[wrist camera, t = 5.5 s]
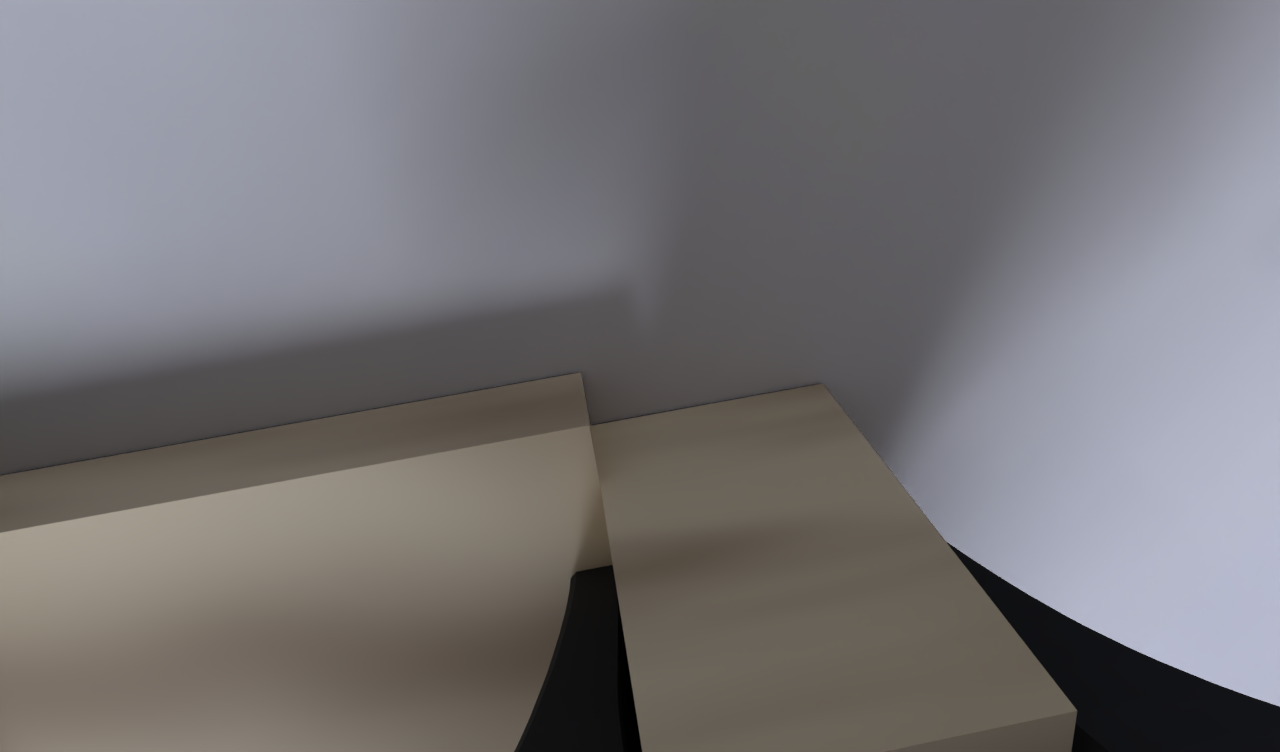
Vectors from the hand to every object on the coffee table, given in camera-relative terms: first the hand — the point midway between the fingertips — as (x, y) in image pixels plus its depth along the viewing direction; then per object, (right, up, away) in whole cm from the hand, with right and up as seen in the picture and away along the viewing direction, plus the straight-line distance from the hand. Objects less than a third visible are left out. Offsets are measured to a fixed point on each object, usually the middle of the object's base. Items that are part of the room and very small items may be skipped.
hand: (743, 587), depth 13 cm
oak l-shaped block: (-8, -1, +1) cm, 8 cm away
